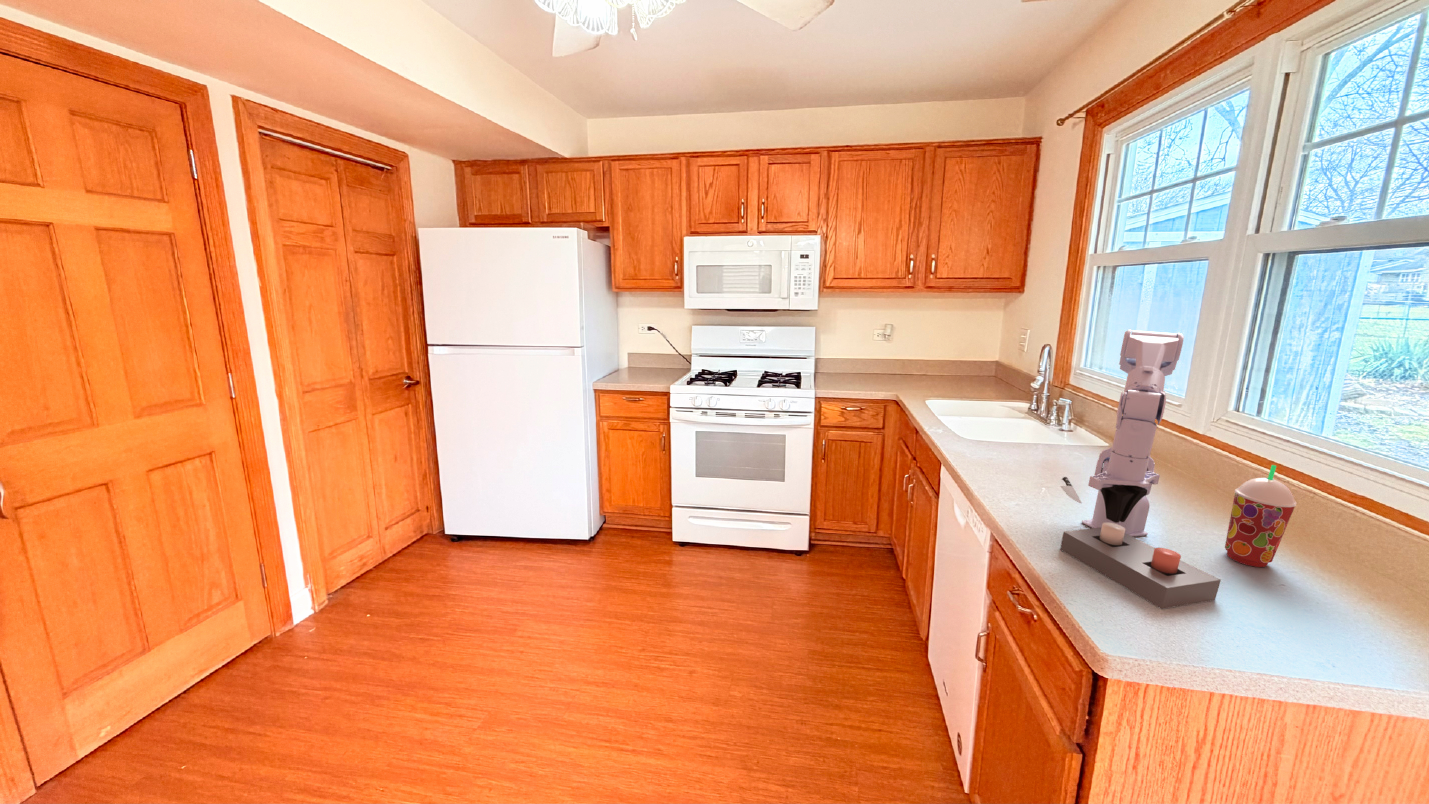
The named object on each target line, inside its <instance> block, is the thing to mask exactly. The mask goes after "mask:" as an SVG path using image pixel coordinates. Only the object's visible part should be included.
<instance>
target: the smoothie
mask: <svg viewBox="0 0 1429 804" xmlns="http://www.w3.org/2000/svg"><path fill="white" fill-rule="evenodd" d="M1276 469H1277V465H1276V464H1271V467H1270V470H1269V472H1268V476H1267V477H1255V478H1250V479H1249V480H1247V481H1245V482H1243V483H1242V484H1241V485H1240V486H1239V487H1237V488H1235V489H1234V496H1233V500H1232V506H1231V513H1230V517H1229V523H1228V529H1227V533H1226V538H1225V543H1224V544H1225V545H1224V549H1225V550H1226V555H1227V557H1229V558H1230V559H1231V560H1233V561H1235V562H1237V563H1240V564H1243V565H1245V566H1250V567H1255V568H1265V567H1266V566H1267V565H1268V564H1269V563H1272V562H1273V561H1274V558H1275V556H1276V553H1277V551H1278V549H1279V546H1280V543H1281V541H1282V538H1283V537H1284V533H1285V532H1286V529H1287V527H1288V524H1289V522H1290V520H1291V517H1292V515H1293V513H1294V509H1295V507H1296V506H1297V503H1298V502H1297V501H1296V500H1295V497H1294V495H1293V493H1292V491H1291V490H1290V488H1289V487H1288V486H1287V485H1286V484H1284V483H1283V482H1281V481H1279V480H1277V479H1274V476H1275V473H1276Z"/></svg>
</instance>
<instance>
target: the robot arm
mask: <svg viewBox="0 0 1429 804" xmlns="http://www.w3.org/2000/svg"><path fill="white" fill-rule="evenodd" d="M1184 338H1185V336H1184V334H1182V333H1181V332H1177V333H1175V332H1174V333H1173V332H1162V331H1161V332H1160V331H1147V330H1132V329H1127V330H1126V331H1125V332H1124V335H1123V338H1122V339H1123V340H1122V344H1121V345H1122V346H1121V348H1120V349H1121V350H1120V353H1119V355H1120V358H1119V363H1118V365H1119V366H1120V367H1119V369H1120V370H1121V371H1122V372H1124V373H1126V374H1127V378H1126V381H1125V386H1124V391H1121V393H1120V396H1119V401H1118V404H1117V409H1116V410H1117V411H1116V425H1115V429H1116V430H1115V433H1114V436H1113V442H1112V446H1111V447H1109V448H1106V449H1103V450H1102V451H1101V452H1100V453H1099V456H1098V459H1097V461H1096V465H1095V471H1094V474H1093V475H1091V476H1089V480H1088V484H1087V486H1088V487H1089V488H1092V489H1094V490H1098V492H1097V496H1096V502H1095V505H1094V509H1093V514H1092V515H1093V516H1092V519H1084V520H1081V523H1082V524H1083V525H1086V526H1087V527H1089V528H1090V529H1091V528H1100V527H1102V524H1103V523H1106V522H1108V523H1114V524H1118V525H1120V526H1122V527H1124V528H1125V533H1126V534H1128V535H1130V536H1132V537H1134V538H1136V537H1143V536H1148V533H1149V532H1147V531H1145V528H1146V524H1147V519H1148V517H1149V516H1148V515H1149V512H1150V506H1151V505H1150V502H1149V499H1148V497H1147V496H1148V495H1150V492H1151V490H1152V485H1158V484H1159V480H1160V476H1161V475H1160V474H1158V473H1155V465H1156V463H1155V460H1154V459H1153V458H1152V457H1151V452H1152V449H1153V444H1154V440H1155V436H1156V432H1157V428H1158V425H1160V424H1161V421H1162V420H1163V417H1164V413H1165V410H1166V404H1167V397H1166V396H1167V395H1166V391H1165V389H1164V388H1165V381H1166V377H1167V376H1170V375H1172V374H1173V372H1174V371H1175V370H1176V367H1177V363H1178V362H1179V360H1180V357H1181V352H1182V348H1183V344H1184ZM1155 421H1157V423H1156V422H1155Z"/></svg>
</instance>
